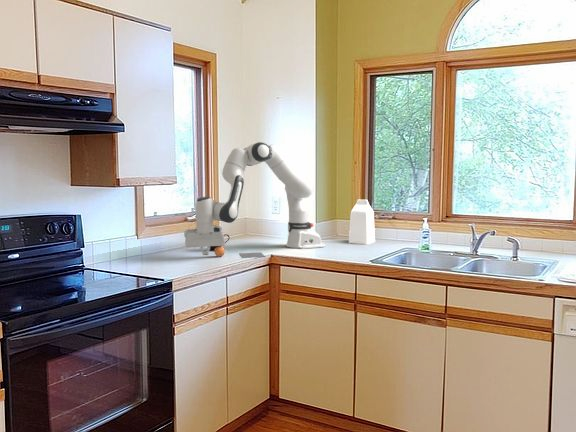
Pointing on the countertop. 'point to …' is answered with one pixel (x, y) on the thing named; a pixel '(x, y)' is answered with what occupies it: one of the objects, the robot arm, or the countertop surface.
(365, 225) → the milk
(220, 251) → the ball
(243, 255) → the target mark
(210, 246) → the coffee mug
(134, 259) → the countertop surface
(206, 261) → the countertop surface
